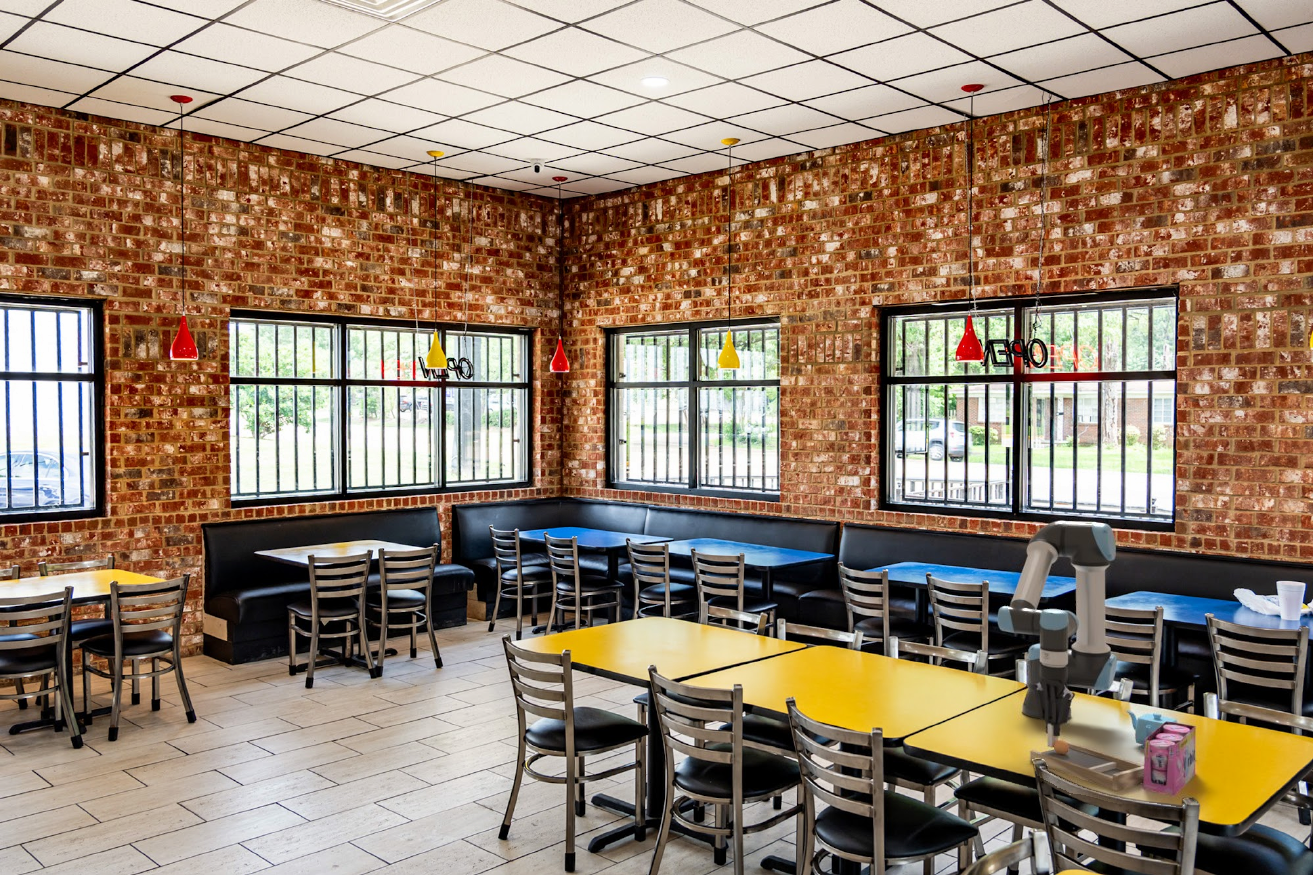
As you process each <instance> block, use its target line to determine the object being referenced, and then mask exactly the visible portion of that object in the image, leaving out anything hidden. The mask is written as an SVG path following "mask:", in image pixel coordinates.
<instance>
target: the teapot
mask: <svg viewBox="0 0 1313 875" xmlns="http://www.w3.org/2000/svg"><path fill="white" fill-rule="evenodd" d="M1125 712H1126V713H1127V714H1129V716H1130V718H1131V724H1132V728H1133V729H1134V731H1135V734H1134V735H1135V736H1134V738H1135V742H1136V743H1137V744H1140V745H1142V746H1141V749H1145V739H1146V738H1147V737H1148V736H1149V735H1151V734H1152V733H1153V732H1154V731H1155V730H1157V729H1158V728H1159V727H1160V726H1161V725H1162V724H1163V723H1164V722H1166V721H1168V722H1174V723H1178V720H1177V719H1176V718H1173V717H1167V716H1164V715H1162V713H1159V712H1154V713H1146V714H1143V715H1140V716H1139V717H1136V714H1135V713H1134V712H1133V711H1130V710H1125Z"/></svg>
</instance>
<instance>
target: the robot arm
mask: <svg viewBox="0 0 1313 875" xmlns="http://www.w3.org/2000/svg"><path fill="white" fill-rule="evenodd" d="M1116 548H1117V545H1116V537H1115V534H1114V531H1113V529H1112V527H1111V526H1110V525H1109V524H1107V523H1102V522H1096V521H1076V520H1075V521H1070V520H1069V521H1068V520H1056V521H1053V522H1050V523H1048V524H1046V525H1044V526H1043V527H1041V528H1040V529H1039V530H1038V531H1036V533H1034V535H1033V536H1032V537H1031V538H1030V540H1029V542H1028V544H1027V547H1026V554H1027V557H1026V560H1025V563H1024V566H1023V568H1022V571H1021V574H1020V577H1019V579H1018V582H1017V585H1016V588H1015V591H1014V594H1013V597H1012V598H1011V601H1010V604H1009V606H1008V605H1007V606H1006V605H1004V606H1001V607H1000V608H999V609H998V612H997V613H998V614H997V625H998V628H999V629H1000V631H1002V632H1008V633H1013V634H1023V635H1024V634H1025V635H1034V636H1039V643H1036V644H1032V645H1031V646H1029V649H1028V658H1027V662H1028V663H1027V666H1028V667H1027V675H1028V676H1027V677H1028V678H1027V680H1028V682H1027V684H1028V685H1027V692H1026V695H1025V697H1024V700H1023V703H1022V713H1023V714H1024V715H1026V716H1029V717H1031V718H1035V719H1040V720H1043V721H1044V722H1045V733H1046V734H1047V747H1049V748H1051V749H1052V748H1054V744H1055V742H1056V741H1058V740H1059V737H1060V735H1061V725H1065V724H1067V722H1068V720H1069V719H1070V718H1071V717H1072V708H1071V705H1072V702H1073V701H1072V700H1073V699H1074V697H1075V696H1076V694H1075V692H1074V691H1073V692H1071V691H1070V690H1069V689H1068V687H1076V688H1083V689H1090V690H1094V691H1096V690H1097V691H1108V690H1110V688H1112V685H1113V683H1114V680H1115V675H1116V671H1117V660H1118V659H1117V656H1116V655H1115V654H1113V653H1112V652H1111V647H1110V645H1109V644H1107V643H1106V570H1107V568H1109V566H1110V565H1111V561H1114V560H1115V559H1116V555H1117V552H1116V551H1117V549H1116ZM1059 557H1061V558H1062V557H1063V558H1069V559H1070V565H1071V566H1072V567H1074V569H1075V601H1076V603H1075V606H1076V610H1075V612H1076V614H1075V613H1073V612H1072V611H1070V610H1063V609H1062V610H1061V609H1057V608H1049V609H1048V608H1047V609H1037V608H1038V605H1039V603H1040V601H1041V600H1040V599H1041V597H1042V594H1043V591H1044V588H1045V585H1046V582H1047V580H1048V576H1049V573H1050V570H1051V567H1052V564H1055V562H1056V561H1057V560H1058V558H1059ZM1075 634H1076V641H1075V642H1074V643H1073V644H1071V649H1069V638H1070V637H1072V636H1074V635H1075Z"/></svg>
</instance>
